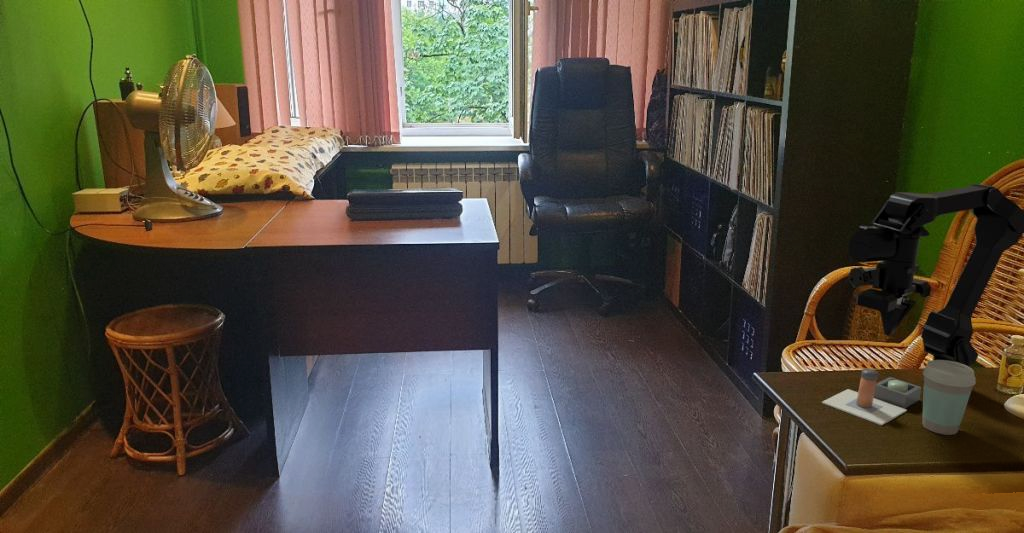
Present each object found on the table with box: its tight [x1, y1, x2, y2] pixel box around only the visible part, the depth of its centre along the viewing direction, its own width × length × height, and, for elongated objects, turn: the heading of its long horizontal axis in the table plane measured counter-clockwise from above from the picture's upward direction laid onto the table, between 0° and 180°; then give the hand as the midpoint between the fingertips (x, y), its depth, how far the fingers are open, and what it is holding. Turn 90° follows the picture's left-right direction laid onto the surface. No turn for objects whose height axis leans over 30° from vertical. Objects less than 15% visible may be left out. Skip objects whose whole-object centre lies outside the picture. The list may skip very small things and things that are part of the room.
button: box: [888, 379, 908, 393], centre depth 154 cm, size 4×4×2 cm
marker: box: [856, 368, 879, 408], centre depth 150 cm, size 3×3×7 cm
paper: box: [821, 388, 908, 426], centre depth 151 cm, size 10×12×1 cm
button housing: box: [874, 376, 922, 409], centre depth 154 cm, size 6×6×3 cm
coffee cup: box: [921, 359, 977, 436], centre depth 141 cm, size 8×8×12 cm
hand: (888, 334), depth 153 cm, fingers closed
